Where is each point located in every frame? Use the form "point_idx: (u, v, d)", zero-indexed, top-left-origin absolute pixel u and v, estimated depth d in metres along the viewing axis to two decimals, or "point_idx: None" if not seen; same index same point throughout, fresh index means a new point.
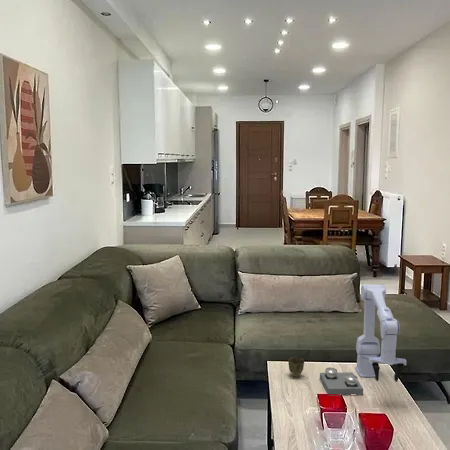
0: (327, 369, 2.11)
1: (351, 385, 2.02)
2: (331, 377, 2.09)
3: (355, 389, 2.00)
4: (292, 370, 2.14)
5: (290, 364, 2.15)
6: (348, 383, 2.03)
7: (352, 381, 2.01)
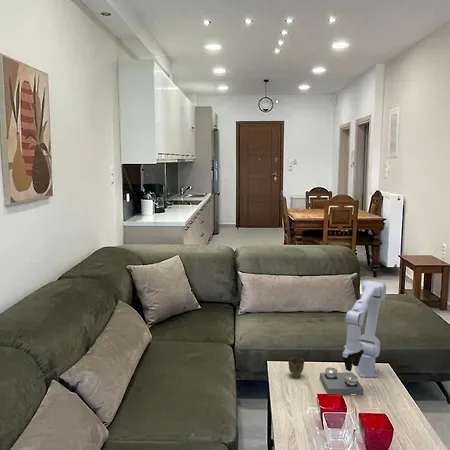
0: (327, 369, 2.11)
1: (351, 385, 2.02)
2: (331, 377, 2.09)
3: (355, 389, 2.00)
4: (292, 370, 2.14)
5: (290, 364, 2.15)
6: (348, 383, 2.03)
7: (352, 381, 2.01)
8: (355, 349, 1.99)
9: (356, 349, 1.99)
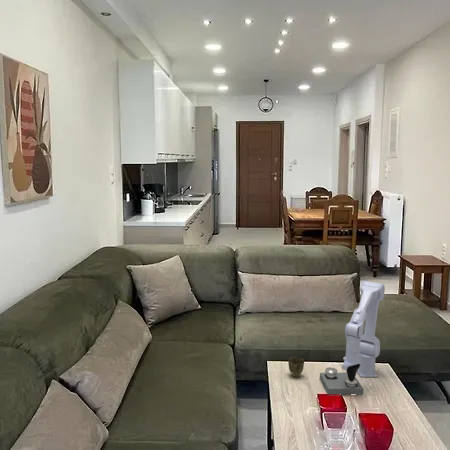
0: (327, 369, 2.11)
1: None
2: (331, 377, 2.09)
3: (355, 389, 2.00)
4: (292, 370, 2.14)
5: (290, 364, 2.15)
6: (348, 386, 2.03)
7: (352, 384, 2.01)
8: (354, 361, 2.00)
9: (355, 361, 2.00)
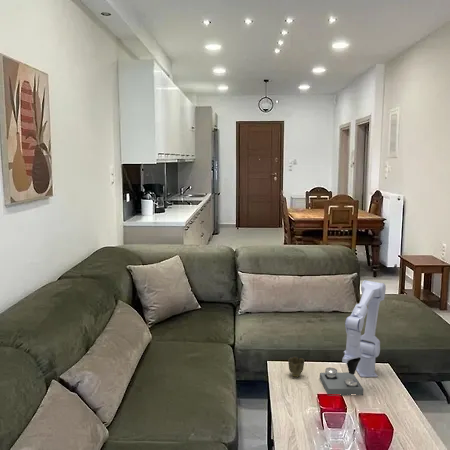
0: (327, 369, 2.11)
1: None
2: (331, 377, 2.09)
3: (355, 389, 2.00)
4: (292, 370, 2.14)
5: (290, 364, 2.15)
6: None
7: (352, 385, 2.02)
8: (355, 355, 1.99)
9: (356, 355, 1.99)
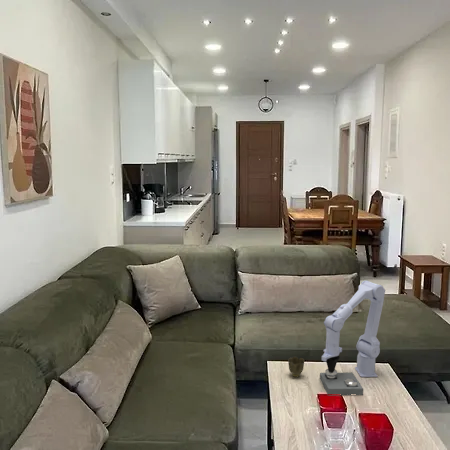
0: (327, 370, 2.11)
1: None
2: None
3: (355, 389, 2.00)
4: (292, 370, 2.14)
5: (290, 364, 2.15)
6: None
7: (352, 385, 2.02)
8: (334, 353, 2.06)
9: (335, 353, 2.06)
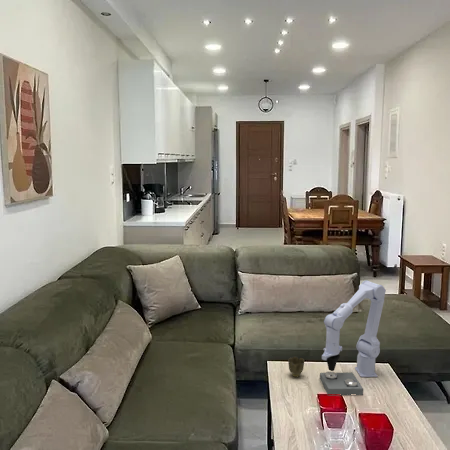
0: (327, 373, 2.11)
1: None
2: None
3: (355, 389, 2.00)
4: (292, 370, 2.14)
5: (290, 364, 2.15)
6: None
7: (352, 385, 2.02)
8: (334, 352, 2.06)
9: (335, 352, 2.06)
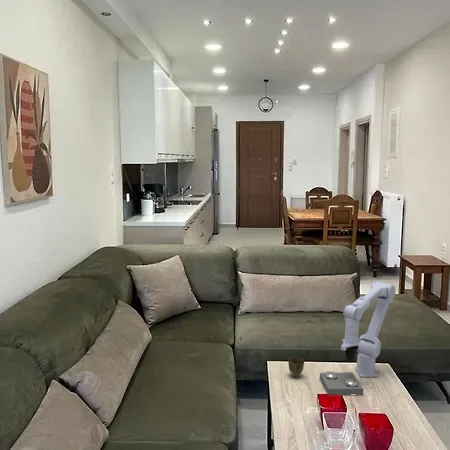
0: (327, 373, 2.11)
1: None
2: None
3: (355, 389, 2.00)
4: (292, 370, 2.14)
5: (290, 364, 2.15)
6: None
7: (352, 385, 2.02)
8: (353, 342, 2.06)
9: (354, 343, 2.06)
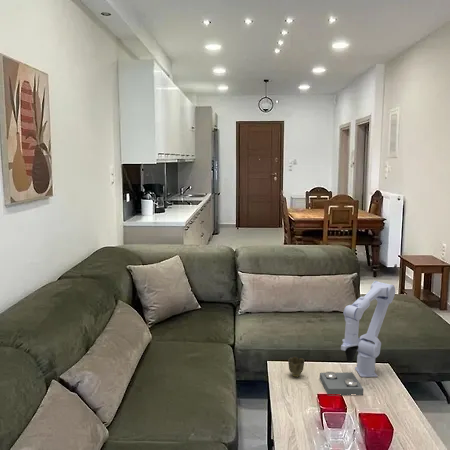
0: (327, 373, 2.11)
1: None
2: None
3: (355, 389, 2.00)
4: (292, 370, 2.14)
5: (290, 364, 2.15)
6: None
7: (352, 385, 2.02)
8: (353, 342, 2.06)
9: (354, 343, 2.06)
